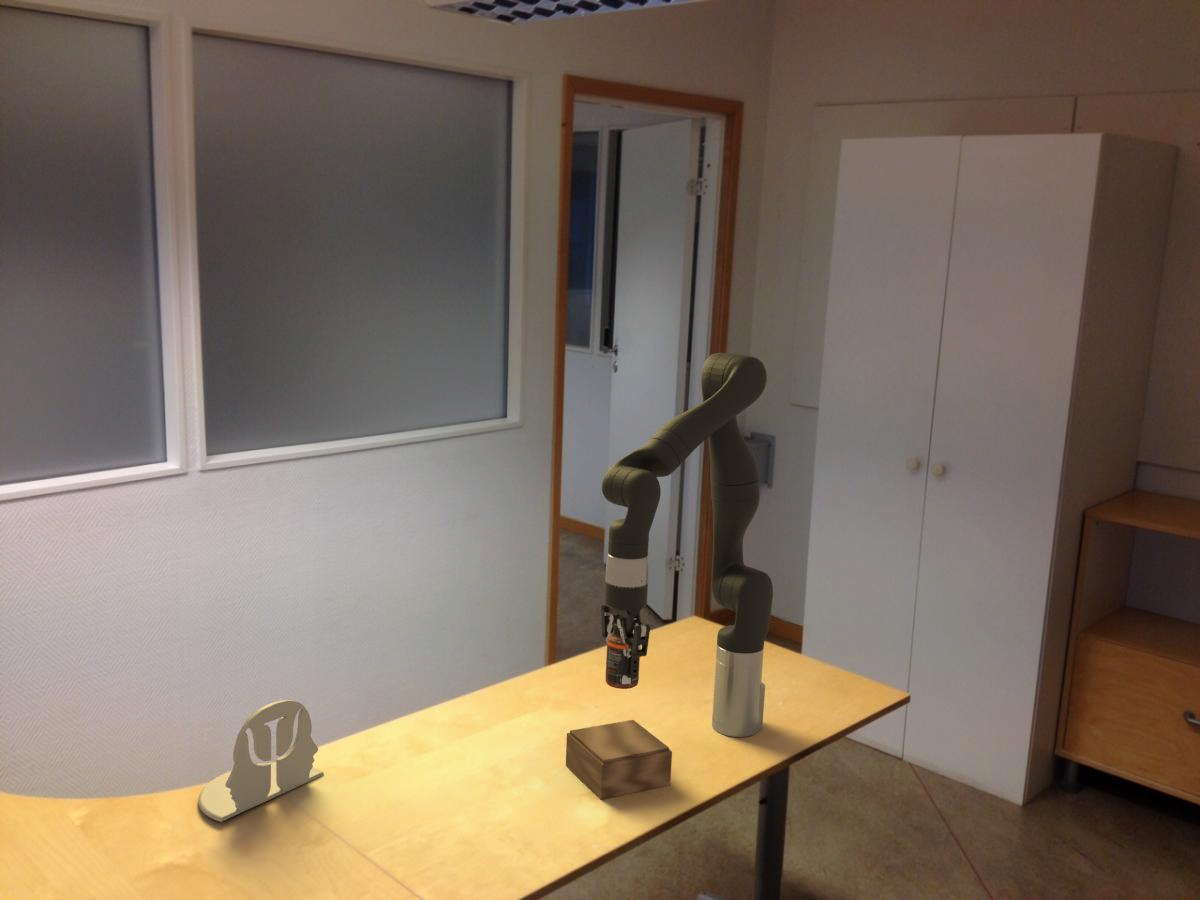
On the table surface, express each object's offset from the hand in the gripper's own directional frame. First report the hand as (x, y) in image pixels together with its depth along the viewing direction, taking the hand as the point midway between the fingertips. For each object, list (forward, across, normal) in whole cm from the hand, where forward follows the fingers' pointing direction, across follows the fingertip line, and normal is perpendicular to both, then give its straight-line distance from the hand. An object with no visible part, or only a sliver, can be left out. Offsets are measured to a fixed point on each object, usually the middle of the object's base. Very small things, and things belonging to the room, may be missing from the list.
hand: (622, 670), depth 198 cm
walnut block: (+20, 0, 0) cm, 20 cm away
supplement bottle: (+3, 0, 0) cm, 3 cm away
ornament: (+20, +21, +61) cm, 67 cm away
